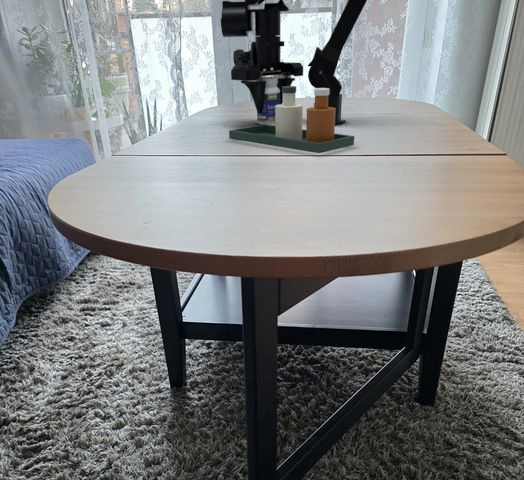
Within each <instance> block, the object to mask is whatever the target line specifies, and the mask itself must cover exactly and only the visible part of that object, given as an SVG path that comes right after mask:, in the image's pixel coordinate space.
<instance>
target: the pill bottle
mask: <svg viewBox="0 0 524 480" xmlns="http://www.w3.org/2000/svg"><path fill="white" fill-rule="evenodd" d="M262 81H266V88H265V96H264V103H263V109H262V113H258V112H257V111H256V118H257V119H256V121H257V124H258V125H263V124H265V125H270V124H276V116H275V106H276V105H280V90H279V88H278V87H277V83H278V78H277V77H274V76H262Z"/></svg>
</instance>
